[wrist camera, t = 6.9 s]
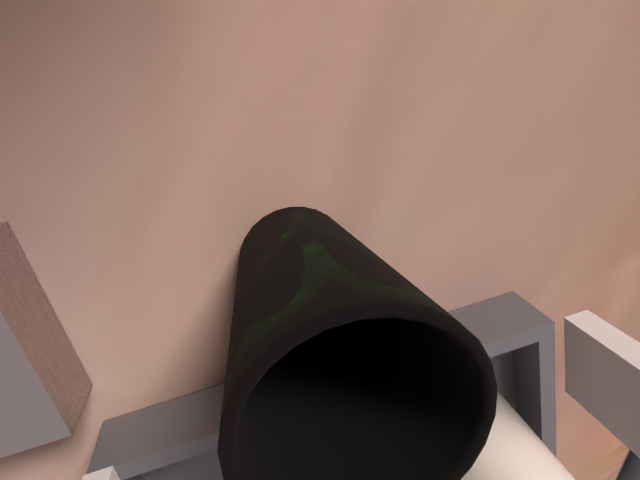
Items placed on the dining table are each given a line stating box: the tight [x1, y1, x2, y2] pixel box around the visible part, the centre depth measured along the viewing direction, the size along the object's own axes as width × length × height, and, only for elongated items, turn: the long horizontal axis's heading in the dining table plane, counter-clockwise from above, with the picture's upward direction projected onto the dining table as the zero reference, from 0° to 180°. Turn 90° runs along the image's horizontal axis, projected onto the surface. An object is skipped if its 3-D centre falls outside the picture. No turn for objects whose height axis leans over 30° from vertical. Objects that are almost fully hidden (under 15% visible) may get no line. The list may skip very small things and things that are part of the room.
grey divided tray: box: [87, 291, 556, 480], centre depth 26 cm, size 12×24×4 cm, turn 103°
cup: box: [217, 207, 498, 480], centre depth 17 cm, size 8×8×12 cm
